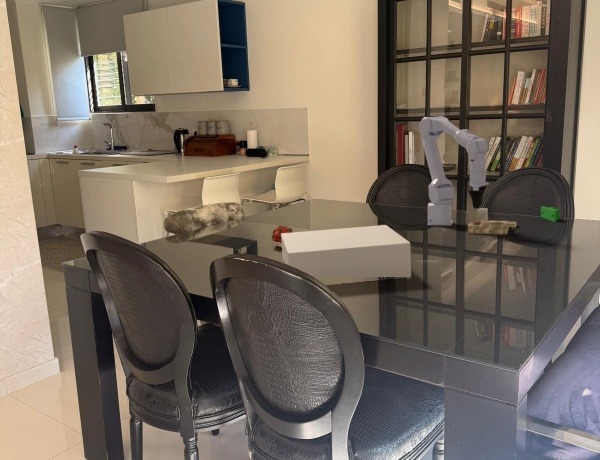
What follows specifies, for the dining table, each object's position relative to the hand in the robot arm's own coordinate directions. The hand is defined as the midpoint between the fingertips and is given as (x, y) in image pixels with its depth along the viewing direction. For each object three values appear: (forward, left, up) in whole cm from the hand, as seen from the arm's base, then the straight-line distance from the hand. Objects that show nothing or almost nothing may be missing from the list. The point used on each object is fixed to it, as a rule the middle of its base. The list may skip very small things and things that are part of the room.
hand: (477, 206), depth 216 cm
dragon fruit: (-66, -35, -10) cm, 75 cm away
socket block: (+4, 0, -9) cm, 10 cm away
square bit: (+1, +9, -9) cm, 13 cm away
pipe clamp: (+27, +26, -10) cm, 38 cm away
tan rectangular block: (+11, +9, -10) cm, 17 cm away
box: (-34, -62, -10) cm, 71 cm away
